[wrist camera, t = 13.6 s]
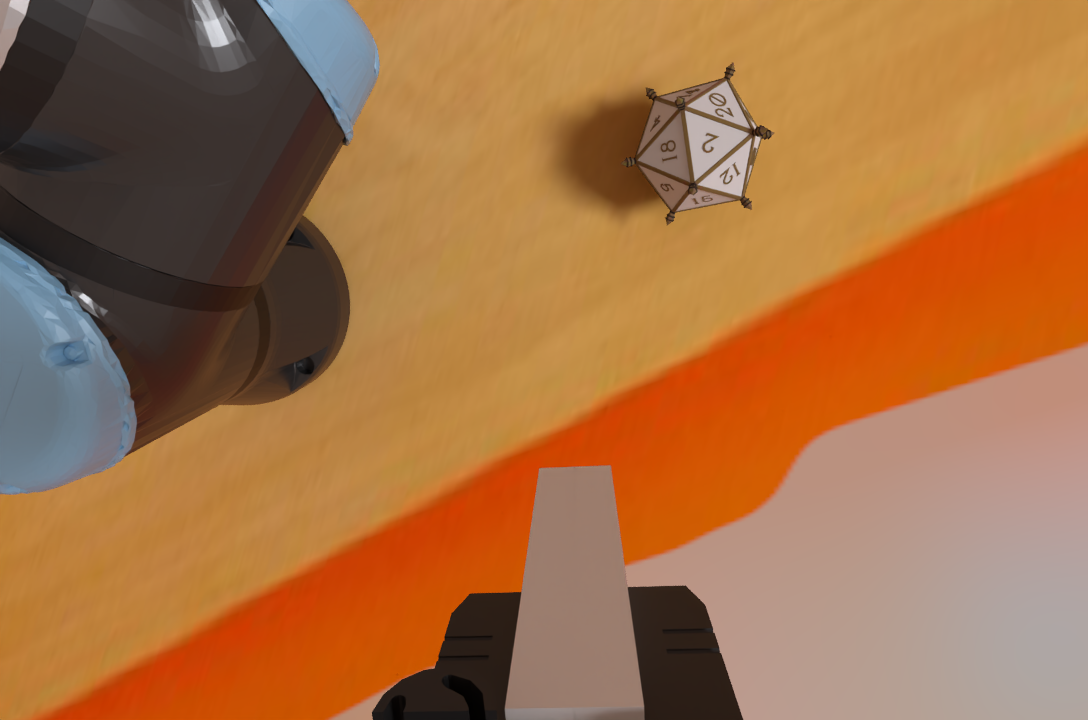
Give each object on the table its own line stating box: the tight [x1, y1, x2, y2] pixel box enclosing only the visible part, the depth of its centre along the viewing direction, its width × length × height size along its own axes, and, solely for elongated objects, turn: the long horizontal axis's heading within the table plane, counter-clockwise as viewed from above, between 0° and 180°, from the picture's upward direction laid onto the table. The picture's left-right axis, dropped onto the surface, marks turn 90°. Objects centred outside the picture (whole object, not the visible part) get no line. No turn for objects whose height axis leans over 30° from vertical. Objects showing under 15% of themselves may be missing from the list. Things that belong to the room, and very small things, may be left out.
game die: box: [621, 63, 774, 225], centre depth 38 cm, size 9×8×10 cm
